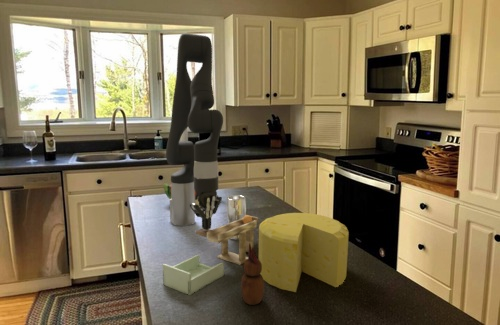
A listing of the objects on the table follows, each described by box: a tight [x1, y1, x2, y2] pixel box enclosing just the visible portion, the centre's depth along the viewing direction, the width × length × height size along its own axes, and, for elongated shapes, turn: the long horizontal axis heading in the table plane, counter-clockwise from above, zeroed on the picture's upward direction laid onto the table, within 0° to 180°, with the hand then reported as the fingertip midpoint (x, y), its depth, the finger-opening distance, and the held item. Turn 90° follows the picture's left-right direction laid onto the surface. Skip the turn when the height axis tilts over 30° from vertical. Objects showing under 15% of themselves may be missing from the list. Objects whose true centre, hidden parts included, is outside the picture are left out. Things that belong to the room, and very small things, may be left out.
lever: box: [195, 214, 259, 244], centre depth 129 cm, size 20×11×3 cm, turn 145°
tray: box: [162, 254, 225, 296], centre depth 113 cm, size 10×14×6 cm
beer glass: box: [226, 194, 247, 241], centre depth 146 cm, size 7×7×15 cm
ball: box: [243, 214, 252, 224], centre depth 133 cm, size 3×3×3 cm
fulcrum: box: [216, 228, 254, 266], centre depth 130 cm, size 12×9×10 cm
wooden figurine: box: [240, 243, 265, 306], centre depth 101 cm, size 7×6×15 cm
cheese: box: [258, 212, 350, 293], centre depth 119 cm, size 26×26×15 cm
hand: (206, 228), depth 126 cm, fingers closed
